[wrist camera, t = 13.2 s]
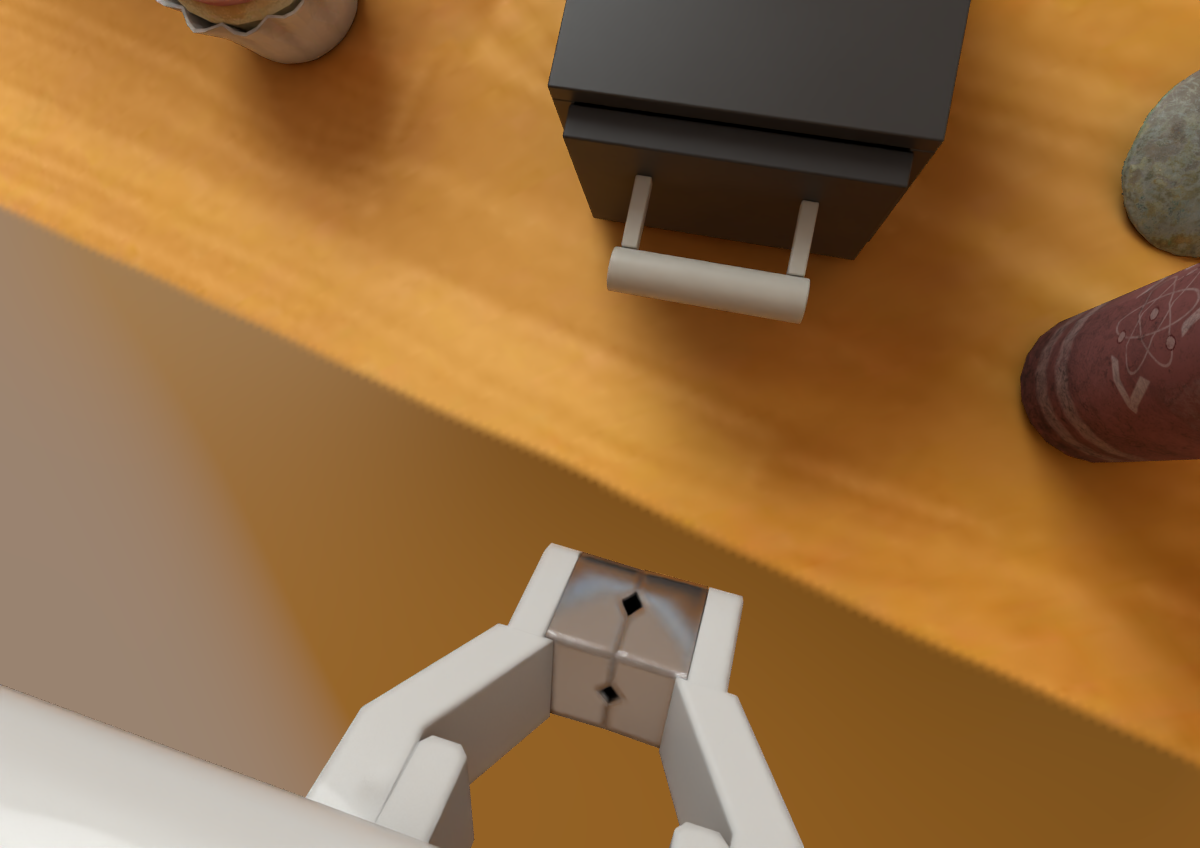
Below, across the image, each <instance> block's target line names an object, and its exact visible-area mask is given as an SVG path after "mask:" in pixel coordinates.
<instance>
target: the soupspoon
mask: <svg viewBox="0 0 1200 848" xmlns="http://www.w3.org/2000/svg"><path fill="white" fill-rule="evenodd" d="M1121 179H1122V190H1123V193H1122V195H1123V196H1124V197H1123V198H1124V207H1125V208H1126V211H1127V214H1128V218H1129V219H1130V220H1131V222H1132V224H1134V226H1135V228H1136V229H1137V231H1138V232H1139V233H1140V234H1141V235H1142V236H1143V237H1144V238H1145V239H1146V240H1147V241H1148V242H1149V243H1150V244H1152V245H1154V246H1155V247H1156V248H1158V249H1161V250H1164V251H1167V252H1170V253H1172V254H1174V255H1178V256H1191V257H1194V258H1197V257H1200V70H1199V71H1197V72H1195V73H1193V74H1192V75H1190V76H1189V77H1187V78H1186V79H1185V80H1183V81H1181V82H1180V83H1178V84H1177V85H1176V86H1174V87H1173V88H1172V89H1171V90H1170V91H1169V92H1168V93H1167V94H1166V95H1165V96H1164V97H1163V98H1162V99H1161V100H1160V101H1159V102H1158V104H1157V105H1156V106H1155V107H1154V108H1153V109H1152V110H1151V112H1150V113H1149V114H1148V116H1147V118H1146V119H1145V121H1144V124H1143V126H1142V127H1141V128H1140V130H1139V133H1138V134H1137V136H1136V138H1135V141H1134V143H1133V145H1132V147H1131V149H1130V151H1129V153H1128V155H1127V158H1126V161H1124V166H1123V169H1122V178H1121Z"/></svg>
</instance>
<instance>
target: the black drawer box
mask: <svg viewBox="0 0 1200 848" xmlns="http://www.w3.org/2000/svg"><path fill="white" fill-rule="evenodd" d="M970 2H971V0H566V4H565V9H564V13H563V18H562V22H561V27H560V31H559V36H558V41H557V45H556V50H555V54H554V59H553V63H552V68H551V73H550V77H549V82H548V88H549V91H550V94H551V96H552V99H553V102H554V105H555V107H556V110H557V113H558V115H559V118H560V121H561V123H562V126H563V129H564V127H565V123H566V118H567V113H568V109H569V106H570V105H571V104H573V105H580V106H587V107H594V108H601V109H607V107H606V106H613V107H620V108H627V109H634V110H641V111H648V112H655V113H662V114H669V115H677V116H684V117H691V118H698V119H705V120H712V121H719V122H726V123H733V124H741V125H748V126H755V127H762V128H769V129H776V130H783V131H790V132H797V133H804V134H812V135H819V136H826V137H833V138H840V139H847V140H854V141H861V142H868V143H876V144H880V145H879V147H878V148H884V149H891V150H898V151H905V152H912V153H913V154H914V157H913V162H912V168H911V173H910V178H909V183H908V187H907V188H906V190H905V191H904V192H903V194H902V195H901V197H900V198H899V199H898V201H897V202H896V203H895V205H894V206H893V207H892V209H891V210H890V211H889V213H888V214H887V216H886V217H885V218H884V220H883V221H882V222H881V224H880V225H879V226H878V228H877V229H876V231H877V230H878V229H879V227H880V226H881V225H882V223H883V222H884V221H885V219H886V218H887V217H888V215H889V214H890V213H891V211H892V210H893V209H894V207H895V206H896V204H897V203H898V202H899V200H900V199H901V198H902V196H903V195H904V194H905V192H906V191H907V190H908V188H909V187H910V186H911V184H912V183H913V182H914V180H915V179H916V178H917V176H918V175H919V174H920V172H921V171H922V169H923V168H924V167H925V165H926V164H927V163H928V161H929V160H930V159H931V157H932V156H933V155H934V153H935V152H936V150H937V149H938V148H939V146H940V145H941V144H942V142H943V141H944V138H945V133H946V127H947V122H948V117H949V112H950V106H951V101H952V96H953V91H954V86H955V80H956V75H957V70H958V65H959V59H960V54H961V49H962V44H963V38H964V33H965V28H966V23H967V18H968V12H969V7H970ZM876 231H875V232H874V233H873V235H874V234H875V233H876ZM873 235H872V236H871V237H870V239H871V238H872V237H873ZM870 239H869V240H868V241H867V242H869V241H870Z"/></svg>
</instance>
